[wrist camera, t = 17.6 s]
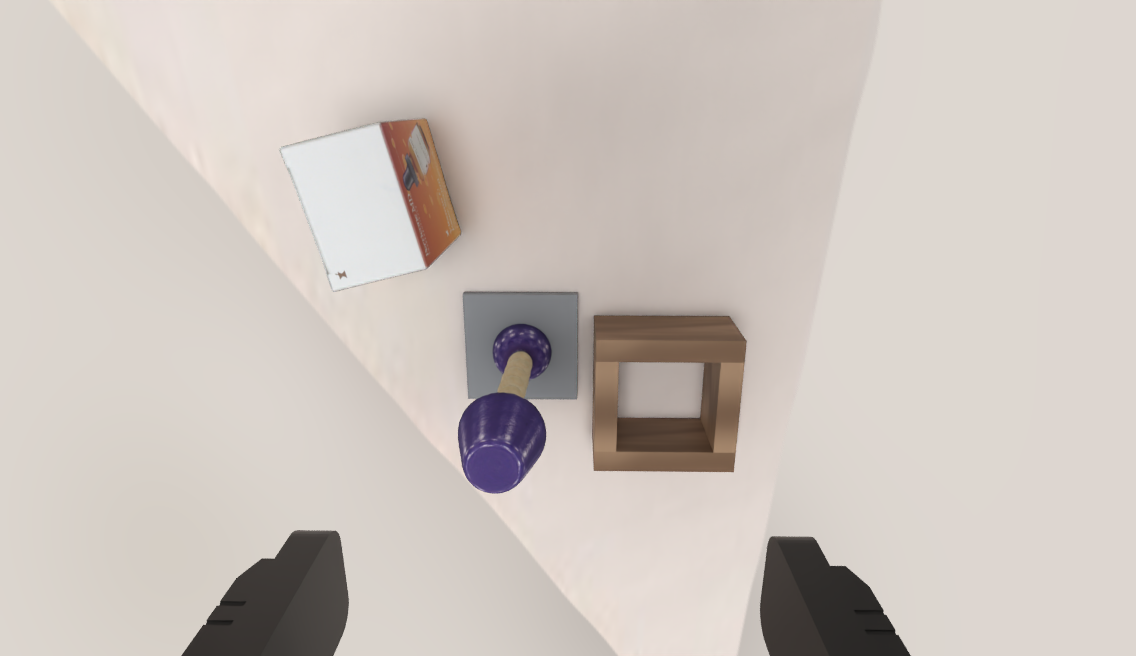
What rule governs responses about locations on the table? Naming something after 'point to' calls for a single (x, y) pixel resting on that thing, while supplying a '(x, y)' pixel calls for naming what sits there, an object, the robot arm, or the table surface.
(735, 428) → the wooden cube shelf
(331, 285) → the small box
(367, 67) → the table surface
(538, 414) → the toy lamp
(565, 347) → the slate pad
